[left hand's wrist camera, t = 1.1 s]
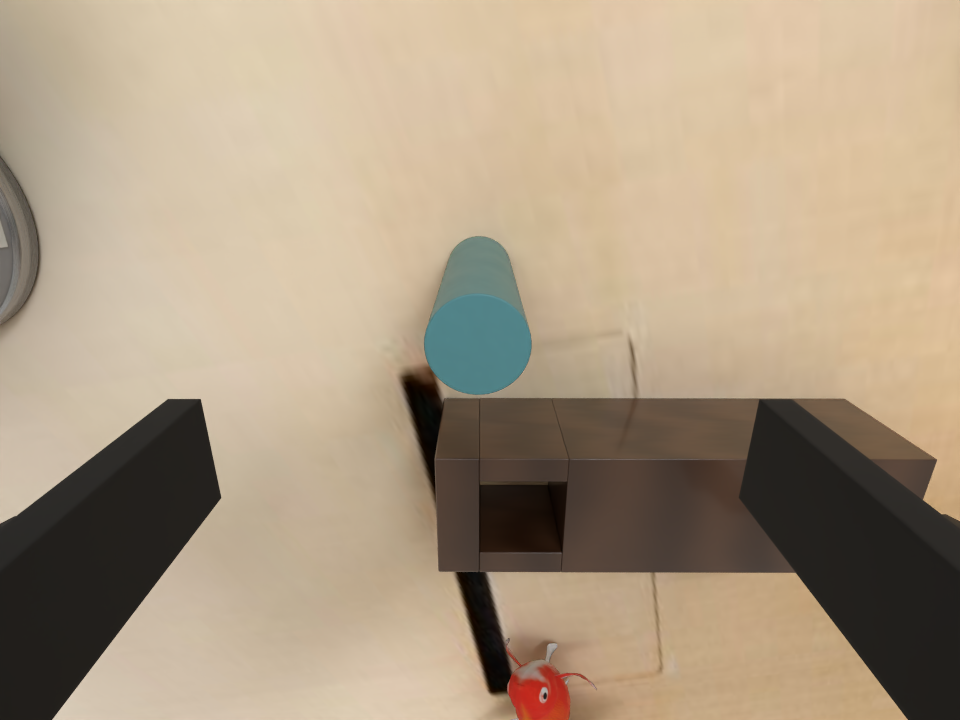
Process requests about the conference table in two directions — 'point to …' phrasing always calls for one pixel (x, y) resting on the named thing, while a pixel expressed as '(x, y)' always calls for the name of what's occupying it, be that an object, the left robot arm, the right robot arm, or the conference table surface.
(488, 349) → the teal peg
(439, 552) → the walnut block
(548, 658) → the fish
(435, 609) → the conference table surface
